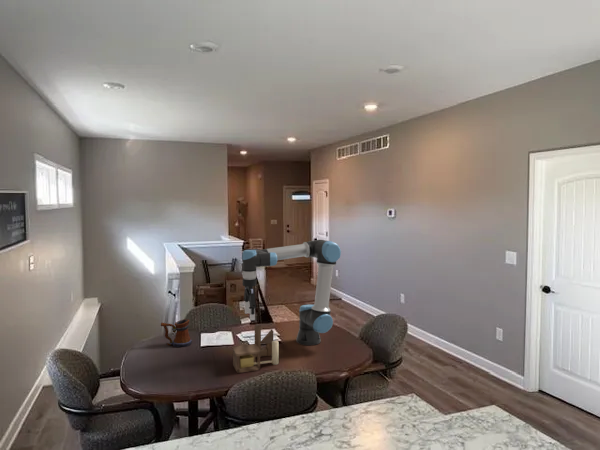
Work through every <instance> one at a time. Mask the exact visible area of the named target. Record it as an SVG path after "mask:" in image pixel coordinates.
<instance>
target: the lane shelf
mask: <svg viewBox="0 0 600 450" xmlns="http://www.w3.org/2000/svg"><path fill="white" fill-rule="evenodd" d="M231 349H232V366H233V368H234V370H235V371H236V373H237V374H239V373H240V374H241V373H248V372H256V371H260V370H261V364H260V362H261V357H260V353H261V350H260V349H259V348H258V346H257V345H256V344H255V343H251V344H243V345H234V346H231ZM250 354H251V355H252V356H253V357H254V362H257V364H256V365H254V366H251V367H244V368H240V356H242V355H250ZM255 354H257V357H255ZM256 360H257V361H256Z"/></svg>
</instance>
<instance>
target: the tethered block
mask: <svg viewBox="0 0 600 450" xmlns="http://www.w3.org/2000/svg"><path fill="white" fill-rule="evenodd" d="M279 347H280V345H279V341H278V340H273V341H272V355H271V359H270V360H262V361H261V360H260V365H262V364H268V363H269V364H270V363H271V365H272V366H273V365H274V366H276V365H279V356H280V355H279V350H280V349H279ZM251 366H257V361H255V362H254V357H253V356H252V355H251V354H250V355H242V356H240V368H244V367H251Z"/></svg>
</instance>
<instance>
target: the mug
mask: <svg viewBox="0 0 600 450" xmlns="http://www.w3.org/2000/svg"><path fill="white" fill-rule="evenodd" d="M189 324H190V319H189V318H188V319H187V318H184V319H183V318H182V319H180V320H177V321H176V322H175V323H174V324H173V323H167V322H166V323H165V322H161V323H160V326H161V327H163V328H164V331H165V333H164V337H165V339H167V340H169V342H167V343H166V345H167V346H173V347H174V348H175V347H176V348H185V347H188V346H191V344H192V342H193V340H192V339H191V337H190V333H189ZM168 327H172V328H171V330H172V332H173V333H174V334H175V337H174V339H172V338H171V337H170V336H169V328H168Z"/></svg>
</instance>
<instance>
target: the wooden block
mask: <svg viewBox="0 0 600 450" xmlns="http://www.w3.org/2000/svg"><path fill="white" fill-rule="evenodd" d="M272 341H274V330H273V329H270V330H269V331H268V332H267V333H266V334H265V336H264V337H263V338H262V325H261V324H260V323H259V324H258V323H257V324H254V344H256V345H257V346H258V348H259V349H260V350H261V353H260V358H261V357H269V356H272ZM262 345H265V348H263V347H262ZM255 358H257V354H255Z"/></svg>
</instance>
